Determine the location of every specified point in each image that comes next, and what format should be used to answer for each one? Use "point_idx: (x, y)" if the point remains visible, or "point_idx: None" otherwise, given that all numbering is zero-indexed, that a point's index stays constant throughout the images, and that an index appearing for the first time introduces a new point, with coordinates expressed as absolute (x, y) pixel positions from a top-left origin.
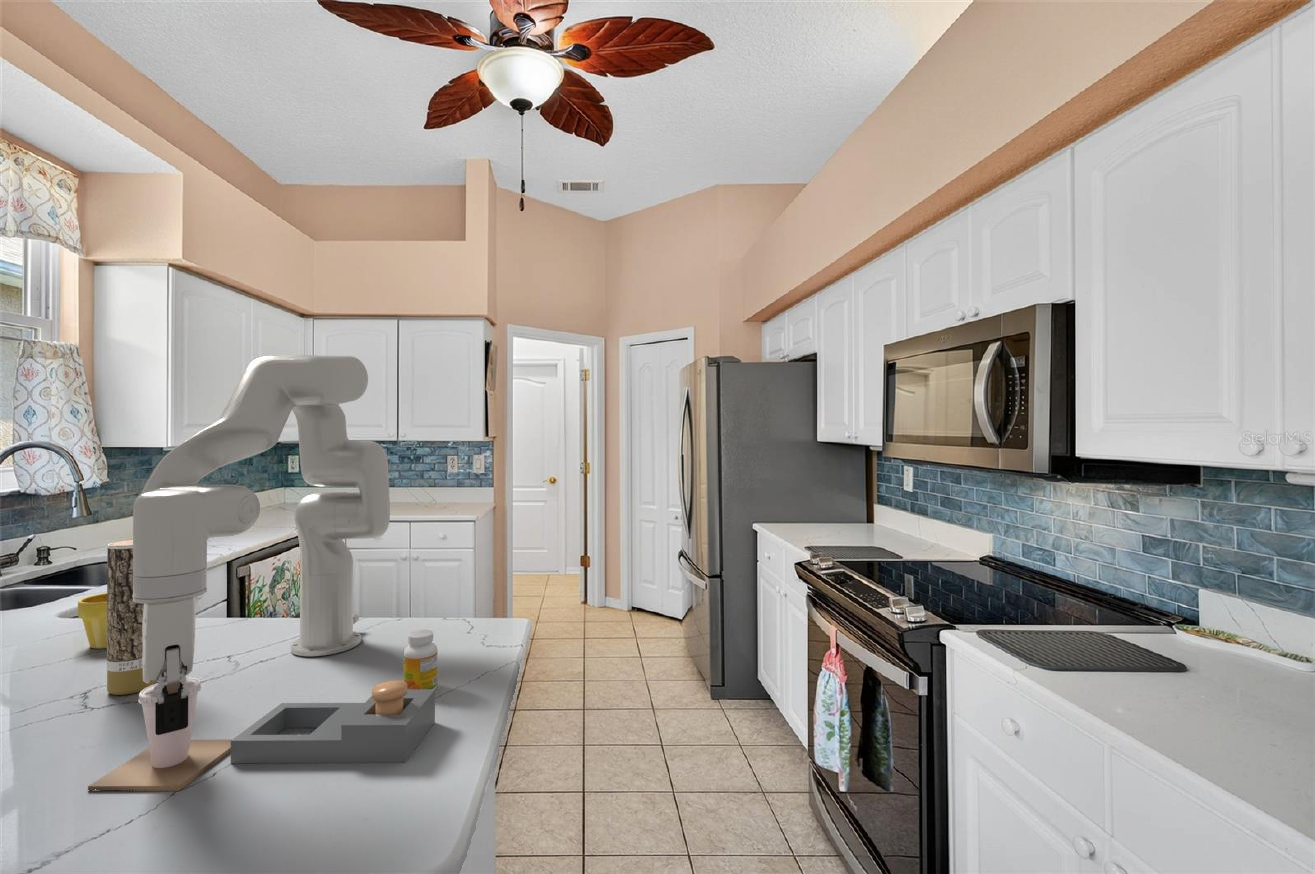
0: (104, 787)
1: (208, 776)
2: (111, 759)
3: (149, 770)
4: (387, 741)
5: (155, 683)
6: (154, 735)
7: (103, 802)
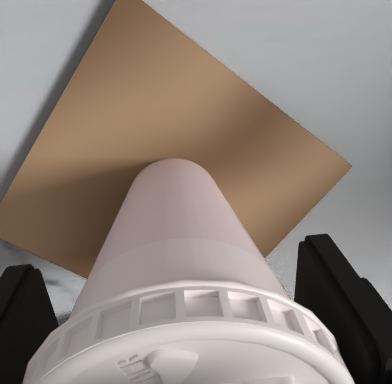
0: (93, 40)
1: (43, 272)
2: (343, 32)
3: (136, 154)
4: None
5: (387, 362)
6: (114, 228)
7: (11, 46)
